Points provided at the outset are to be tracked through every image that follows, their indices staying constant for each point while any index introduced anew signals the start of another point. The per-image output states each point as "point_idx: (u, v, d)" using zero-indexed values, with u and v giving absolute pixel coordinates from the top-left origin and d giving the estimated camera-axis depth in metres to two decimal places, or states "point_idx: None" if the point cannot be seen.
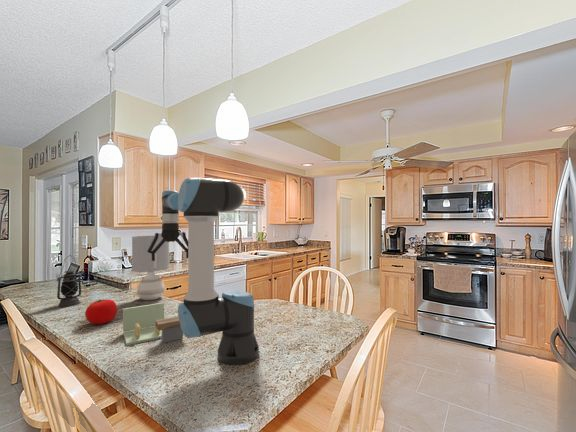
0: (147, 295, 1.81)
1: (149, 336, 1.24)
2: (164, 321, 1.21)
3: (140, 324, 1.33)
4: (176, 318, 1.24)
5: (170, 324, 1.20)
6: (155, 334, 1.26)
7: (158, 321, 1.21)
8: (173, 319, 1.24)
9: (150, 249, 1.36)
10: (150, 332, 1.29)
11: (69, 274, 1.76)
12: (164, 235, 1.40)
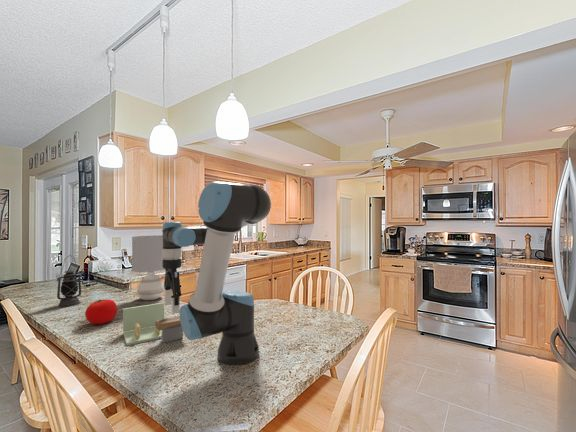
0: (147, 295, 1.81)
1: (149, 336, 1.24)
2: (164, 321, 1.21)
3: (140, 324, 1.33)
4: (176, 318, 1.24)
5: (170, 324, 1.20)
6: (155, 334, 1.26)
7: (158, 321, 1.21)
8: (173, 319, 1.24)
9: (164, 284, 1.30)
10: (150, 332, 1.29)
11: (69, 274, 1.76)
12: (167, 272, 1.25)
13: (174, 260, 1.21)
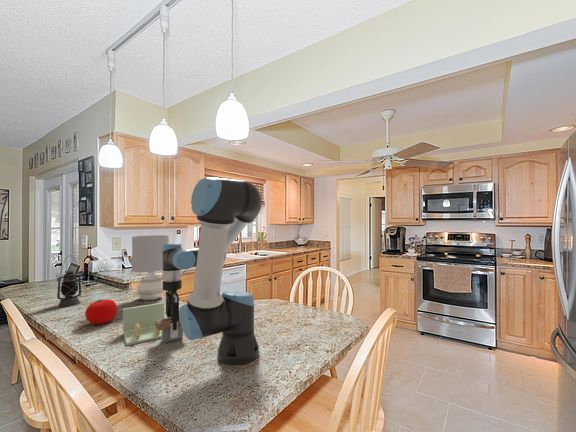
0: (147, 295, 1.81)
1: (149, 336, 1.24)
2: (164, 321, 1.21)
3: (140, 324, 1.33)
4: None
5: (170, 324, 1.20)
6: (155, 334, 1.26)
7: (158, 321, 1.21)
8: None
9: (166, 310, 1.28)
10: (150, 332, 1.29)
11: (69, 274, 1.76)
12: (167, 293, 1.25)
13: (174, 282, 1.21)
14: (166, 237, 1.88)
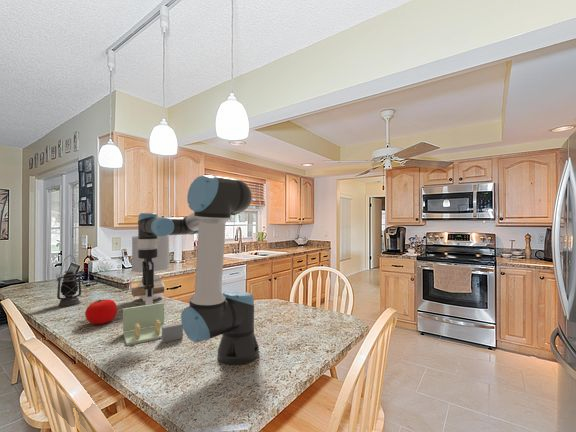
0: None
1: (149, 336, 1.24)
2: (139, 288, 1.25)
3: (140, 324, 1.33)
4: None
5: (145, 291, 1.23)
6: (155, 334, 1.26)
7: (134, 288, 1.24)
8: None
9: (142, 279, 1.31)
10: (150, 332, 1.29)
11: (69, 274, 1.76)
12: (144, 262, 1.28)
13: (149, 250, 1.24)
14: (166, 237, 1.88)
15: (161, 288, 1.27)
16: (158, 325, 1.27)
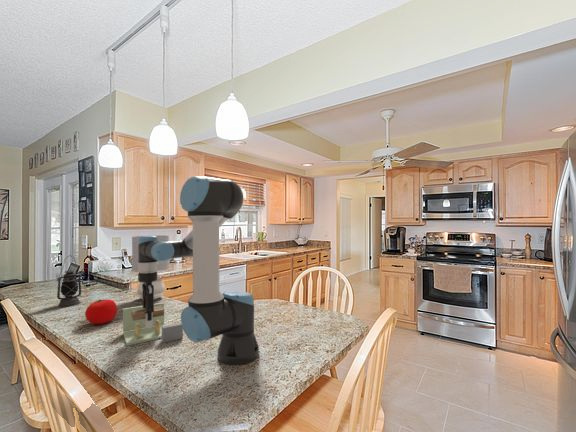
0: None
1: (149, 336, 1.24)
2: (139, 311, 1.24)
3: (140, 324, 1.33)
4: None
5: (145, 315, 1.23)
6: (155, 334, 1.26)
7: (134, 312, 1.24)
8: None
9: (142, 301, 1.31)
10: (150, 332, 1.29)
11: (69, 274, 1.76)
12: (144, 284, 1.28)
13: (149, 273, 1.24)
14: (166, 237, 1.88)
15: (161, 311, 1.27)
16: (158, 325, 1.27)
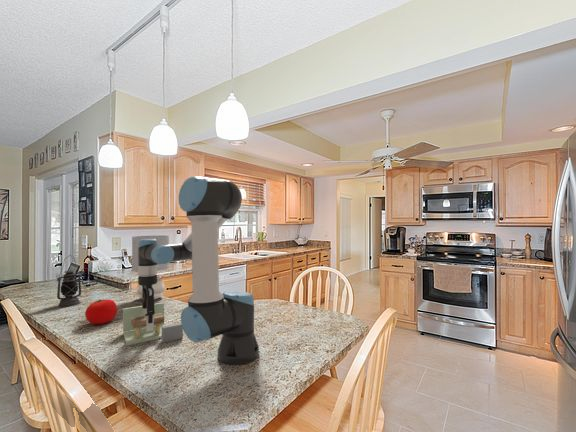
0: None
1: (149, 336, 1.24)
2: (139, 318, 1.24)
3: None
4: None
5: (145, 322, 1.23)
6: (155, 334, 1.26)
7: (134, 319, 1.24)
8: None
9: (142, 302, 1.32)
10: (150, 332, 1.29)
11: (69, 274, 1.76)
12: (144, 288, 1.28)
13: (149, 277, 1.24)
14: (166, 237, 1.88)
15: (161, 318, 1.26)
16: (158, 325, 1.27)
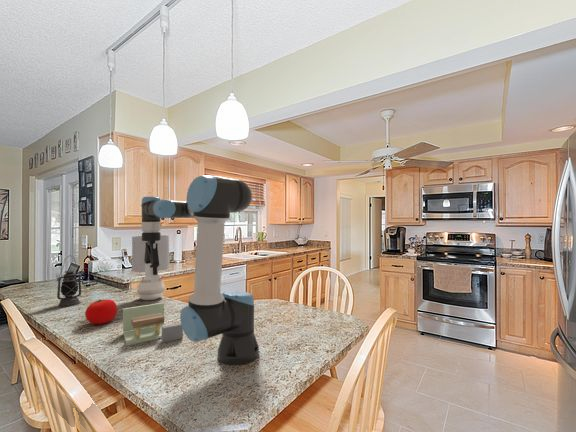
0: (147, 295, 1.81)
1: (149, 336, 1.24)
2: (139, 318, 1.24)
3: None
4: (152, 316, 1.27)
5: (145, 322, 1.23)
6: (155, 334, 1.26)
7: (134, 319, 1.24)
8: (148, 317, 1.27)
9: (144, 258, 1.36)
10: (150, 332, 1.29)
11: (69, 274, 1.76)
12: (147, 245, 1.31)
13: (153, 233, 1.26)
14: (166, 237, 1.88)
15: (161, 318, 1.26)
16: (158, 325, 1.27)
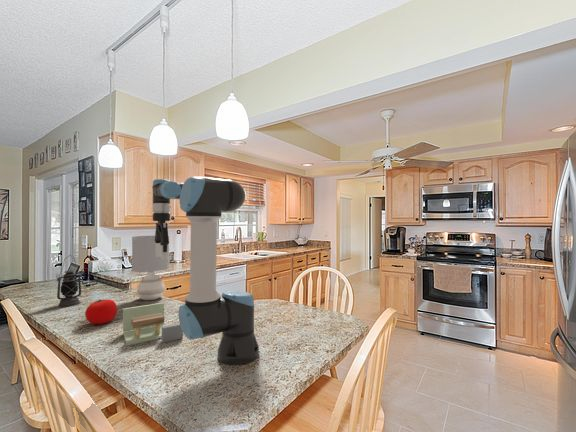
0: (147, 295, 1.81)
1: (149, 336, 1.24)
2: (139, 318, 1.24)
3: None
4: (152, 316, 1.27)
5: (145, 322, 1.23)
6: (155, 334, 1.26)
7: (134, 319, 1.24)
8: (148, 317, 1.27)
9: (155, 238, 1.44)
10: (150, 332, 1.29)
11: (69, 274, 1.76)
12: None
13: (163, 213, 1.35)
14: None
15: (161, 318, 1.26)
16: (158, 325, 1.27)
